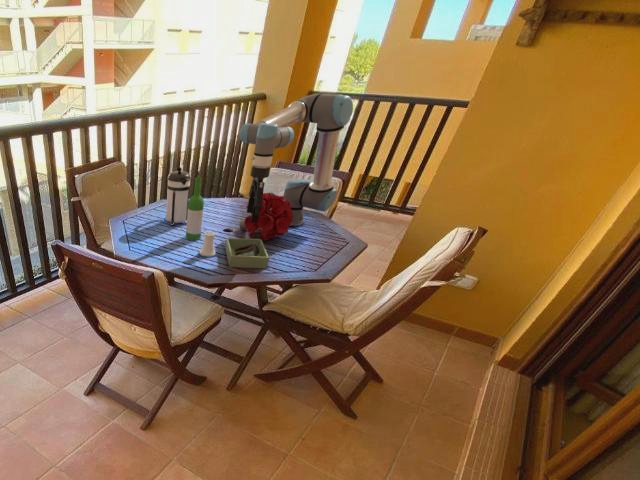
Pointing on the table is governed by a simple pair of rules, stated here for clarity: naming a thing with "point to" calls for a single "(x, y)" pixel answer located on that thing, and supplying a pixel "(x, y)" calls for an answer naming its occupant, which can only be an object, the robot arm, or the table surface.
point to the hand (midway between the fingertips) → (251, 217)
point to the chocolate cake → (248, 250)
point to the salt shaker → (208, 245)
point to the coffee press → (177, 196)
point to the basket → (246, 261)
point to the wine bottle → (195, 213)
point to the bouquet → (270, 217)
